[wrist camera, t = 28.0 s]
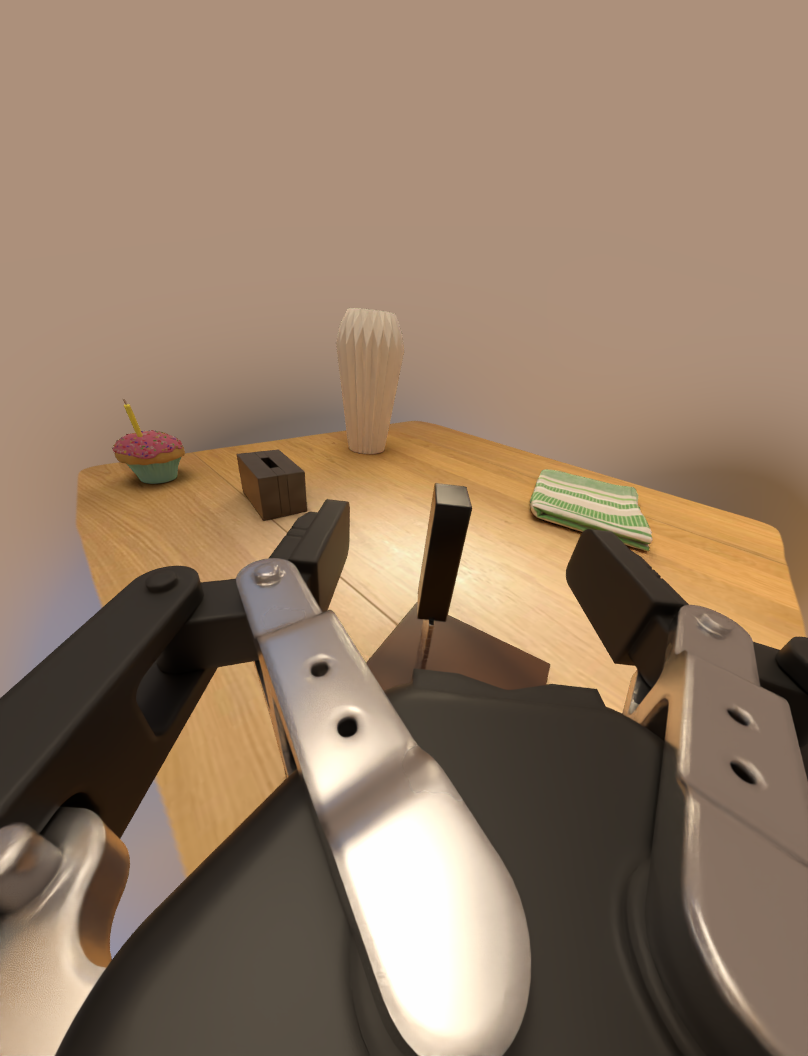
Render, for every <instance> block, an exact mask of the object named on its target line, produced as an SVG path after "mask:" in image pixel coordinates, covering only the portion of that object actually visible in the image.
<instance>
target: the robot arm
mask: <svg viewBox="0 0 808 1056" xmlns="http://www.w3.org/2000/svg"><path fill="white" fill-rule="evenodd" d="M349 528H350V506H349V502H346V501H337V500H328V499H327V500H326V501H325V502H324V504H323V505H322V507H321V508H320V510H319V512H318V513H317V512H308V513H306V514H305V515H303V516H301V517H299V518H298V519H297V520H296V522H295V523H294V524H293V526H292V529H290V530H289V531H288V533H287V535H286V536H285V537H284V538H283V539H282V541H281V542H280V544H279V545H278V546H277V548H276V549H275V550H274V552H273V553H272V554H271V556H270V557H269V559H263V560H259V561H255V562H253V563H251V564H249V565H247V566H246V567H244V568H243V569H242V570H241V571H240V572H239V573H238V575H237V577H236V579H230V580H221V581H211V582H200V579H199V575H198V573H197V572H196V571H195V570H194V569H192V568H190V567H186V566H169V567H163V568H159V569H155V570H152V571H150V572H147V573H145V574H143V575H141V576H139V577H138V578H136V579H135V580H133V581H132V582H131V583H130V584H129V585H127V586H126V587H125V588H124V589H123V590H122V591H121V592H120V593H118V594H117V595H116V596H115V597H114V598H113V599H112V600H111V601H109V602H108V603H107V604H106V605H105V606H104V607H103V608H102V609H100V610H99V611H98V612H97V613H96V614H95V615H94V616H93V617H91V618H90V619H89V620H88V621H87V622H86V623H85V624H84V625H82V626H81V627H80V628H79V629H78V630H77V631H76V632H75V633H74V634H72V635H71V636H70V637H69V638H68V639H67V640H65V641H64V642H63V643H62V644H61V645H60V646H59V647H58V648H56V649H55V650H54V651H53V652H52V653H51V654H50V655H49V656H48V657H46V658H45V659H44V660H43V661H42V662H41V663H40V664H38V665H37V666H36V667H35V668H34V669H33V670H32V671H31V672H29V673H28V674H27V675H26V676H25V677H24V678H23V679H22V680H20V681H19V682H18V683H17V684H16V685H15V686H14V687H13V688H11V689H10V690H9V691H8V692H7V693H6V694H5V695H3V696H2V697H1V698H0V1056H808V638H806V637H794V638H792V639H791V640H790V641H789V642H788V643H787V644H786V645H785V646H784V647H783V648H782V649H781V650H778V649H775V648H772V647H768V646H765V645H762V644H759V643H755V642H753V641H752V638H751V637H750V635H749V634H748V633H747V632H746V631H745V630H744V629H743V628H742V627H741V626H740V625H738V624H737V623H736V622H734V621H733V620H731V619H729V618H728V617H726V616H724V615H722V614H720V613H718V612H716V611H713V610H711V609H708V608H705V607H701V606H696V605H689V604H688V603H687V602H686V601H685V600H684V599H683V598H682V597H681V596H680V595H679V594H678V593H677V592H676V591H675V590H674V589H673V588H672V587H671V586H670V585H669V584H668V583H667V582H666V581H665V580H664V579H661V578H660V577H661V576H660V575H659V574H658V573H657V572H656V571H655V570H652V567H651V566H650V565H649V564H648V563H647V562H646V561H645V560H644V559H643V558H642V557H640V556H639V555H637V554H635V553H634V552H632V551H631V550H630V549H629V548H628V547H627V546H626V545H625V544H624V543H623V542H622V541H621V540H620V539H619V538H618V537H617V536H616V535H615V534H614V533H613V532H611V531H602V530H593V529H586V530H584V531H583V532H582V534H581V536H580V538H579V540H578V543H577V545H576V547H575V549H574V552H573V554H572V556H571V559H570V561H569V563H568V566H567V569H566V580H567V583H568V585H569V587H570V588H571V590H572V592H573V594H574V595H575V597H576V599H577V600H578V602H579V604H580V606H581V607H582V609H583V611H584V612H585V614H586V616H587V617H588V619H589V621H590V623H591V624H592V626H593V628H594V629H595V631H596V633H597V634H598V636H599V638H600V640H601V641H602V643H603V645H604V646H605V648H606V650H607V652H608V653H609V655H610V657H611V658H612V660H613V662H614V663H615V664H624V665H633V666H636V667H637V670H636V672H635V673H634V674H633V676H632V678H631V681H630V685H629V689H628V693H627V697H626V701H625V705H624V709H623V713H619V712H617V711H615V710H613V709H610V708H608V707H606V706H605V704H604V702H603V700H602V698H601V696H600V694H599V692H598V690H597V689H591V688H582V687H574V686H565V685H556V684H549V685H542V686H535V687H528V688H521V689H514V690H506V689H502V688H499V687H496V686H493V685H491V684H488V683H485V682H482V681H479V680H476V679H473V678H470V677H467V676H464V675H462V674H459V673H451V672H442V671H433V670H424V669H415V668H413V673H412V679H411V683H407V684H402V685H398V686H394V687H391V688H389V689H386V690H384V691H383V690H382V688H381V686H380V685H379V683H378V682H377V680H376V678H375V677H374V675H373V674H372V672H371V670H370V669H369V667H368V666H367V664H366V662H365V661H364V659H363V658H362V656H361V654H360V653H359V651H358V650H357V648H356V646H355V645H354V643H353V642H352V640H351V638H350V637H349V635H348V634H347V632H346V630H345V629H344V627H343V626H342V624H341V622H340V621H339V619H338V618H337V616H336V615H335V613H334V612H333V611H331V610H328V607H329V605H330V602H331V599H332V597H333V594H334V591H335V588H336V586H337V583H338V580H339V578H340V575H341V572H342V570H343V567H344V564H345V561H346V559H347V555H348V550H349ZM327 610H328V611H327ZM251 661H253V662H254V665H255V668H256V671H257V675H258V678H259V681H260V685H261V688H262V691H263V694H264V698H265V701H266V704H267V708H268V711H269V714H270V717H271V721H272V724H273V728H274V732H275V736H276V740H277V744H278V747H279V751H280V754H281V758H282V761H283V765H284V768H285V771H286V775H287V779H286V780H285V781H284V782H283V783H282V784H281V785H280V786H279V787H278V788H277V789H276V790H275V791H274V792H273V793H272V794H271V795H270V796H269V797H268V798H267V799H266V800H265V801H264V802H263V803H262V804H261V805H260V806H259V807H258V808H257V809H256V810H255V811H254V812H253V813H252V814H251V815H250V816H249V817H248V818H247V819H246V820H245V821H244V822H243V823H242V824H241V825H240V826H239V827H238V828H237V829H236V830H235V831H234V832H233V833H232V834H231V835H230V836H229V837H228V838H227V839H226V840H225V841H223V842H222V843H221V844H220V845H219V846H218V847H217V848H216V849H215V850H214V851H213V852H212V853H211V854H210V855H209V856H208V857H207V858H206V859H205V860H204V861H203V862H202V863H201V864H200V865H199V866H198V867H197V868H196V869H195V870H194V871H193V872H192V873H191V874H190V875H189V876H188V877H187V878H186V879H185V880H184V881H183V882H182V883H181V884H180V885H179V886H178V887H177V888H176V889H175V890H174V892H172V893H171V894H170V895H169V896H168V898H166V899H165V900H164V901H163V902H162V903H161V904H160V905H159V906H158V907H157V908H156V909H155V910H154V911H153V912H152V913H151V914H150V915H149V916H148V917H147V918H146V919H145V921H144V922H143V923H142V924H141V925H140V926H139V927H138V928H137V929H136V931H135V932H134V933H133V934H132V935H131V937H130V938H129V939H128V940H127V941H126V942H125V944H124V945H123V946H122V947H121V949H120V950H119V951H118V953H117V954H116V955H115V957H114V958H113V959H111V953H110V933H111V926H112V922H113V918H114V915H115V911H116V909H117V906H118V904H119V901H120V899H121V896H122V894H123V891H124V889H125V886H126V883H127V879H128V875H129V868H130V857H129V854H128V850H127V848H126V846H125V844H124V843H123V842H122V841H121V840H120V838H121V836H122V835H123V833H124V831H125V829H126V828H127V826H128V824H129V822H130V821H131V819H132V817H133V815H134V814H135V812H136V810H137V808H138V807H139V805H140V803H141V801H142V799H143V798H144V796H145V794H146V792H147V791H148V789H149V787H150V785H151V784H152V782H153V780H154V778H155V777H156V775H157V773H158V771H159V770H160V768H161V766H162V764H163V763H164V761H165V759H166V757H167V756H168V754H169V752H170V750H171V749H172V747H173V745H174V743H175V742H176V740H177V738H178V736H179V734H180V733H181V731H182V729H183V727H184V726H185V724H186V722H187V720H188V719H189V717H190V715H191V713H192V712H193V710H194V708H195V706H196V705H197V703H198V701H199V699H200V698H201V696H202V694H203V692H204V691H205V689H206V687H207V685H208V684H209V682H210V680H211V678H212V677H213V675H214V673H215V671H216V669H217V668H218V667H222V666H228V665H233V664H239V663H245V662H251Z"/></svg>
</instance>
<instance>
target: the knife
mask: <svg viewBox="0 0 808 1056" xmlns="http://www.w3.org/2000/svg"><path fill="white" fill-rule="evenodd" d="M471 511H472V506H471V502H470V499H469V495H468V491H467V487H464V486H456V485H447V484H438V483H435V485H434V491H433V498H432V504H431V511H430V517H429V523H428V530H427V536H426V543H425V549H424V555H423V562H422V568H421V575H420V581H419V587H418V606H417V618H418V619H422V620H423V623H422V629H421V634H420V640H419V645H418V651H417V657H416V662H415V669H424V670H425V669H426V664H427V659H428V654H429V649H430V644H431V639H432V634H433V630H434V621H439V622H446V620H447V616H448V612H449V607H450V603H451V599H452V594H453V590H454V585H455V581H456V577H457V572H458V568H459V564H460V559H461V555H462V551H463V546H464V542H465V538H466V533H467V529H468V524H469V520H470V516H471Z"/></svg>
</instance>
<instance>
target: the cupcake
mask: <svg viewBox="0 0 808 1056" xmlns="http://www.w3.org/2000/svg"><path fill="white" fill-rule="evenodd" d="M123 401H124V403H125V405H124V407H125V409H126V412H127V414H128V416H129V418H130V421H131V423H132V425H133V428H134V430H135V432H136V433H132V434H126V436H124V437H121V438H120V439H119V440H117V441H116V443H115V445H114V447H113V448H112V449H113V451H114V452H115V457H116V458H117V460H118V461H119V462H121V463H126V464H127V465H128V466H129V467H130V468H131V469H132V471H133V472H134V473H135V474H136V475H137V477H138V478H139V479H140V481H142V482H144V483H149V484H158V483H165V482H169V481H172V480H174V479H175V478H176V477H177V472H178V465H179V462H180V459H181V456H183V455H184V454H185V451H184V447H183V445H182V443H181V441H180V440H178V439H177V438H175V437H172V436H170V435H168V434H165V433H163V432H156V431H153V430H151V431H143V432H142V431H141V430H140V428H139V425H138V423H137V421H136V419H135V416H134V414H133V411H132V409H131V407H130V405H129V404H126V401H125V399H123Z"/></svg>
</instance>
